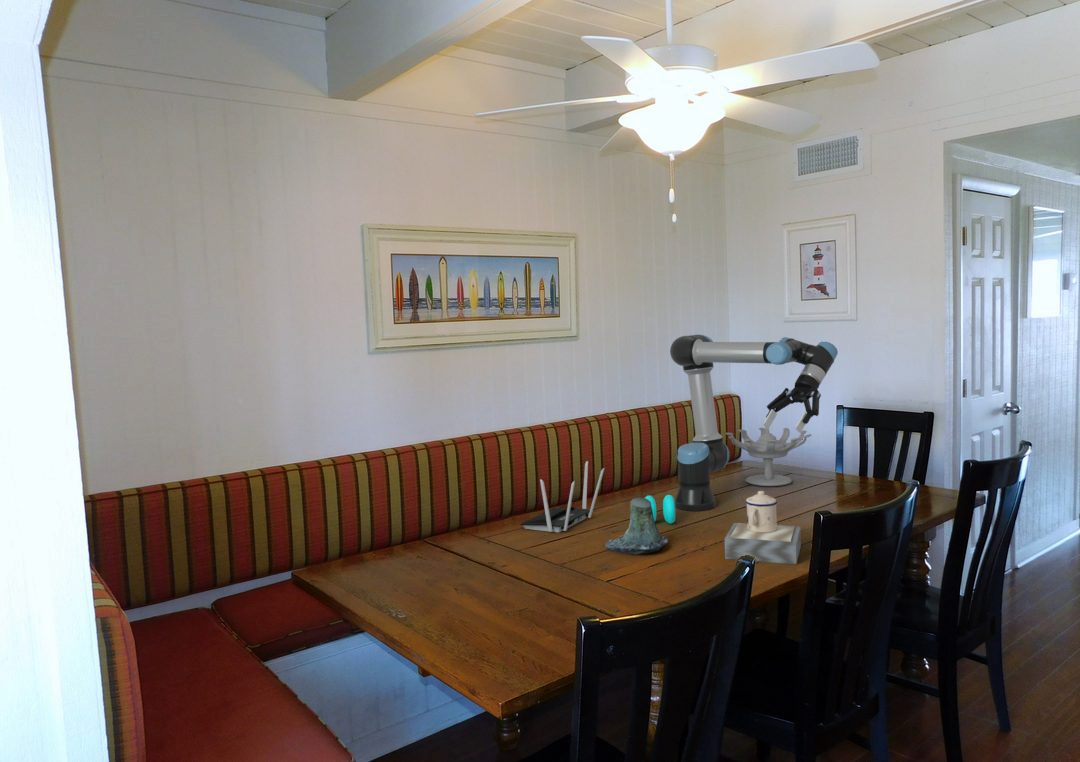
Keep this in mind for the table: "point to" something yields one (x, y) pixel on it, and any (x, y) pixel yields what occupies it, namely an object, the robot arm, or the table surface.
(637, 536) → the tree stump
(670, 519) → the donuts
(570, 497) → the wireless router
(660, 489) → the table surface
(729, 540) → the serving riser
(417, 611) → the table surface
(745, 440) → the candelabra
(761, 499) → the teacup with lid
